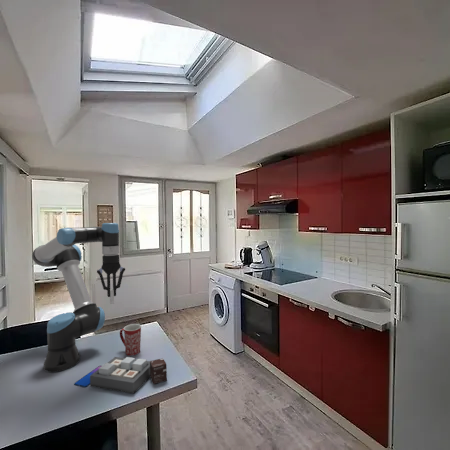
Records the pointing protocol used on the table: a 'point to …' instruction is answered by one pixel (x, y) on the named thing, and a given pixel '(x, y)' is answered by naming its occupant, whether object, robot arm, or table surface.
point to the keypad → (120, 380)
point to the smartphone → (86, 379)
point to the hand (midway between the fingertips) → (111, 303)
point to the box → (158, 371)
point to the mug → (131, 338)
